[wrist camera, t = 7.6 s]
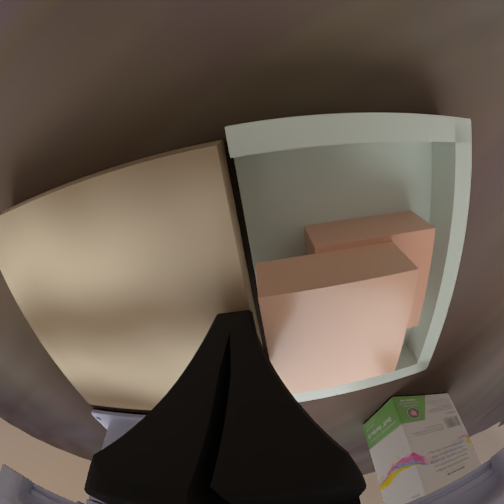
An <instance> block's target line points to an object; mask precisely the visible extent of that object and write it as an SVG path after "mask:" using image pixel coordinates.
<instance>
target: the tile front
mask: <svg viewBox="0 0 504 504" xmlns="http://www.w3.org/2000/svg"><path fill="white" fill-rule="evenodd" d="M418 271H419V269H418V268H417V266H416V265H415V264H414V263H413V262H412V261H411V260H410V259H409V258H408V257H407V256H406V255H405V254H404V253H403V252H402V251H401V250H400V249H399V248H398V247H397V246H396V245H395V244H394V243H393V242H392V241H391V242H385V243H379V244H373V245H367V246H361V247H355V248H349V249H342V250H336V251H330V252H324V253H317V254H311V255H304V256H298V257H291V258H285V259H278V260H272V261H265V262H259V263H256V276H257V292H258V301H259V307H260V312H261V317H262V323H263V328H264V333H265V339H266V344H267V349H268V355H269V360H270V362H271V364H272V365H273V367H274V369H275V371H276V372H277V374H278V375H279V377H280V378H281V380H282V381H283V383H284V384H285V386H286V387H287V389H288V390H289V391H290V393H291V394H296V393H302V392H308V391H314V390H319V389H324V388H329V387H334V386H339V385H344V384H348V383H352V382H356V381H361V380H365V379H368V378H372V377H376V376H380V375H383V374H387V373H390V372H394V371H395V369H396V366H397V362H398V359H399V356H400V352H401V349H402V345H403V341H404V338H405V334H406V330H407V326H408V322H409V317H410V313H411V308H412V304H413V299H414V294H415V288H416V283H417V277H418Z"/></svg>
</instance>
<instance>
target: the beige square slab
mask: <svg viewBox="0 0 504 504" xmlns="http://www.w3.org/2000/svg"><path fill="white" fill-rule="evenodd" d="M0 270H1V272H2V274H3V276H4V279H5V281H6V283H7V285H8V287H9V289H10V291H11V293H12V295H13V296H14V298H15V300H16V302H17V304H18V306H19V307H20V309H21V311H22V313H23V314H24V316H25V318H26V319H27V321H28V323H29V324H30V326H31V328H32V329H33V331H34V332H35V334H36V336H37V337H38V339H39V340H40V342H41V343H42V345H43V346H44V348H45V349H46V350H47V352H48V353H49V355H50V356H51V357H52V359H53V360H54V362H55V363H56V364H57V366H58V367H59V368H60V370H61V371H62V372H63V373H64V375H65V376H66V377H67V379H68V380H69V381H70V382H71V383H72V385H73V386H74V387H75V388H76V390H77V391H78V392H79V393H80V394H81V395H82V396H83V398H84V399H85V400H86V401H87V402H88V403H89V404H91V405H98V406H106V407H115V408H126V409H138V410H152V409H153V408H154V407H155V406H156V405H157V404H158V403H159V402H160V400H161V399H162V398H163V397H164V396H165V395H166V394H167V393H168V391H169V390H170V389H171V388H172V386H173V385H174V384H175V383H176V381H177V380H178V379H179V377H180V376H181V375H182V373H183V372H184V370H185V369H186V367H187V366H188V364H189V363H190V361H191V360H192V358H193V357H194V355H195V353H196V352H197V350H198V348H199V347H200V345H201V343H202V342H203V340H204V338H205V336H206V334H207V332H208V331H209V329H210V327H211V325H212V323H213V321H214V319H215V317H216V315H217V314H220V313H228V312H236V311H244V310H250V311H252V312H253V316H254V321H255V326H256V330H257V334H258V337H259V339H260V342H261V344H262V339H261V334H260V329H259V324H258V319H257V314H256V309H255V303H254V298H253V293H252V288H251V283H250V278H249V273H248V268H247V262H246V257H245V252H244V247H243V242H242V237H241V231H240V226H239V221H238V216H237V210H236V205H235V200H234V195H233V189H232V184H231V179H230V173H229V168H228V163H227V157H226V152H225V146H224V141H223V140H218V141H213V142H208V143H203V144H198V145H193V146H189V147H184V148H180V149H176V150H172V151H168V152H164V153H160V154H156V155H152V156H149V157H145V158H141V159H138V160H134V161H131V162H127V163H124V164H121V165H118V166H114V167H111V168H108V169H105V170H102V171H99V172H96V173H93V174H90V175H87V176H85V177H82V178H79V179H76V180H74V181H71V182H68V183H66V184H63V185H60V186H58V187H55V188H53V189H51V190H48V191H46V192H43V193H41V194H39V195H36V196H34V197H32V198H29V199H27V200H25V201H23V202H21V203H18V204H16V205H14V206H12V207H10V208H9V209H7V210H5V211H4V212H2V213H0ZM262 346H263V344H262Z"/></svg>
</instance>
